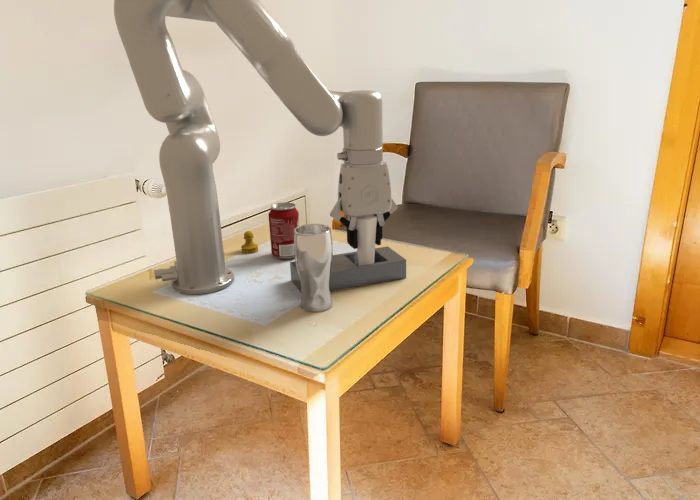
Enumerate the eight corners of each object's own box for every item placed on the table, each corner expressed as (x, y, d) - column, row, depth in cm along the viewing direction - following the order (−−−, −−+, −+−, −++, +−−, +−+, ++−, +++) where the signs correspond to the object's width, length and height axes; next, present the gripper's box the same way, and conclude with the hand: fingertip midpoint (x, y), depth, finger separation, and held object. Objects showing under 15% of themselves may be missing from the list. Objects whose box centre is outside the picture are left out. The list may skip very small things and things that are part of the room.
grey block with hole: (303, 296, 115) (302, 277, 114) (291, 280, 123) (289, 262, 122) (406, 277, 122) (406, 259, 121) (387, 263, 130) (387, 246, 129)
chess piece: (244, 255, 138) (242, 234, 137) (239, 250, 142) (237, 230, 140) (260, 252, 140) (259, 231, 138) (255, 247, 143) (253, 227, 142)
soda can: (299, 260, 134) (296, 209, 130) (269, 261, 134) (265, 210, 130) (302, 250, 140) (299, 201, 136) (274, 251, 140) (270, 201, 136)
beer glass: (315, 294, 116) (311, 220, 111) (342, 303, 112) (339, 227, 107) (290, 307, 111) (284, 230, 106) (317, 316, 107) (313, 237, 102)
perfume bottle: (351, 271, 125) (349, 202, 120) (369, 267, 127) (368, 199, 122) (360, 278, 121) (359, 207, 116) (379, 274, 123) (379, 204, 118)
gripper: (328, 164, 109) (332, 257, 116) (411, 155, 115) (410, 244, 121) (316, 157, 116) (320, 245, 122) (394, 149, 122) (394, 234, 128)
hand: (364, 244), depth 122 cm, fingers closed on perfume bottle, 4 cm apart
